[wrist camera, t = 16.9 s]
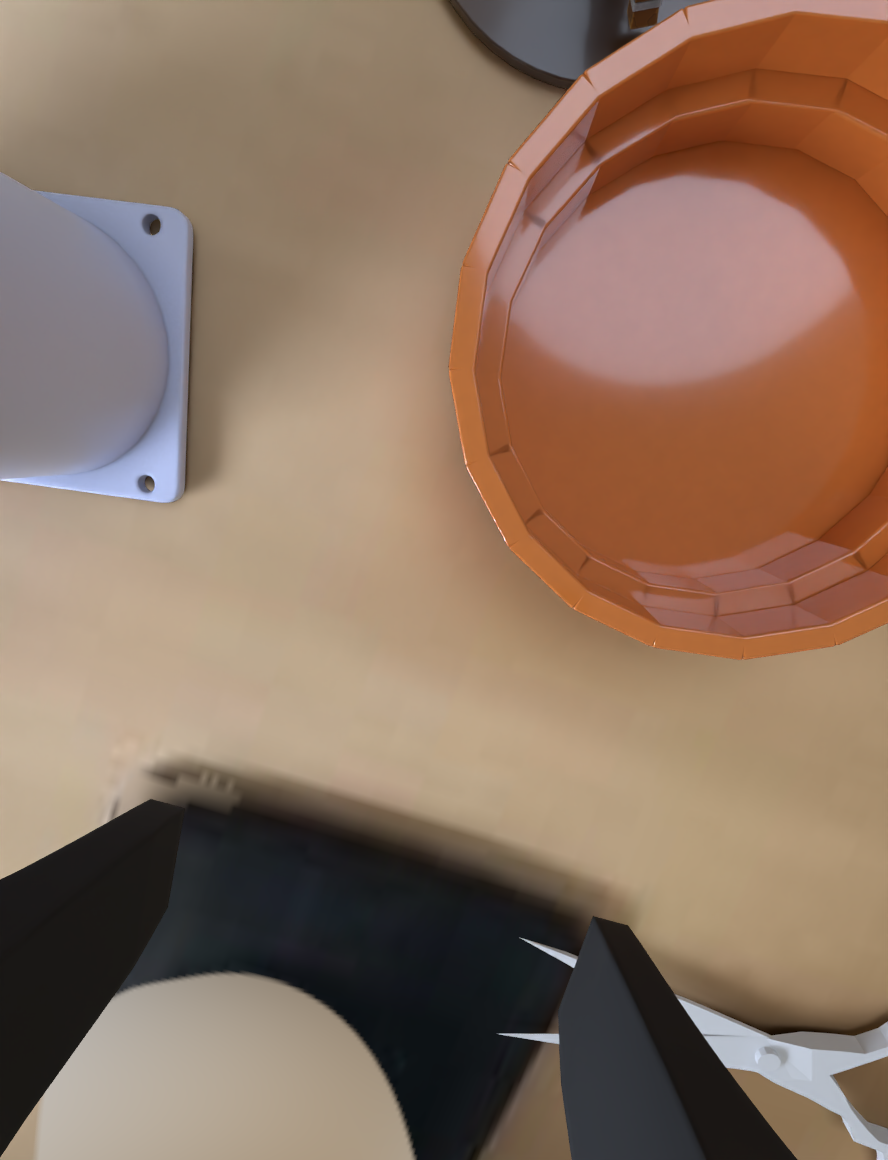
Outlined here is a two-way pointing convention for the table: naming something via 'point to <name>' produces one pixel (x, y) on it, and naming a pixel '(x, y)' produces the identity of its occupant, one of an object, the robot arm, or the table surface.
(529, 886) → the table surface
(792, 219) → the bowl
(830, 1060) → the scissors
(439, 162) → the table surface
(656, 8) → the wooden post with brackets
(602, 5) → the coaster
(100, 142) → the table surface
